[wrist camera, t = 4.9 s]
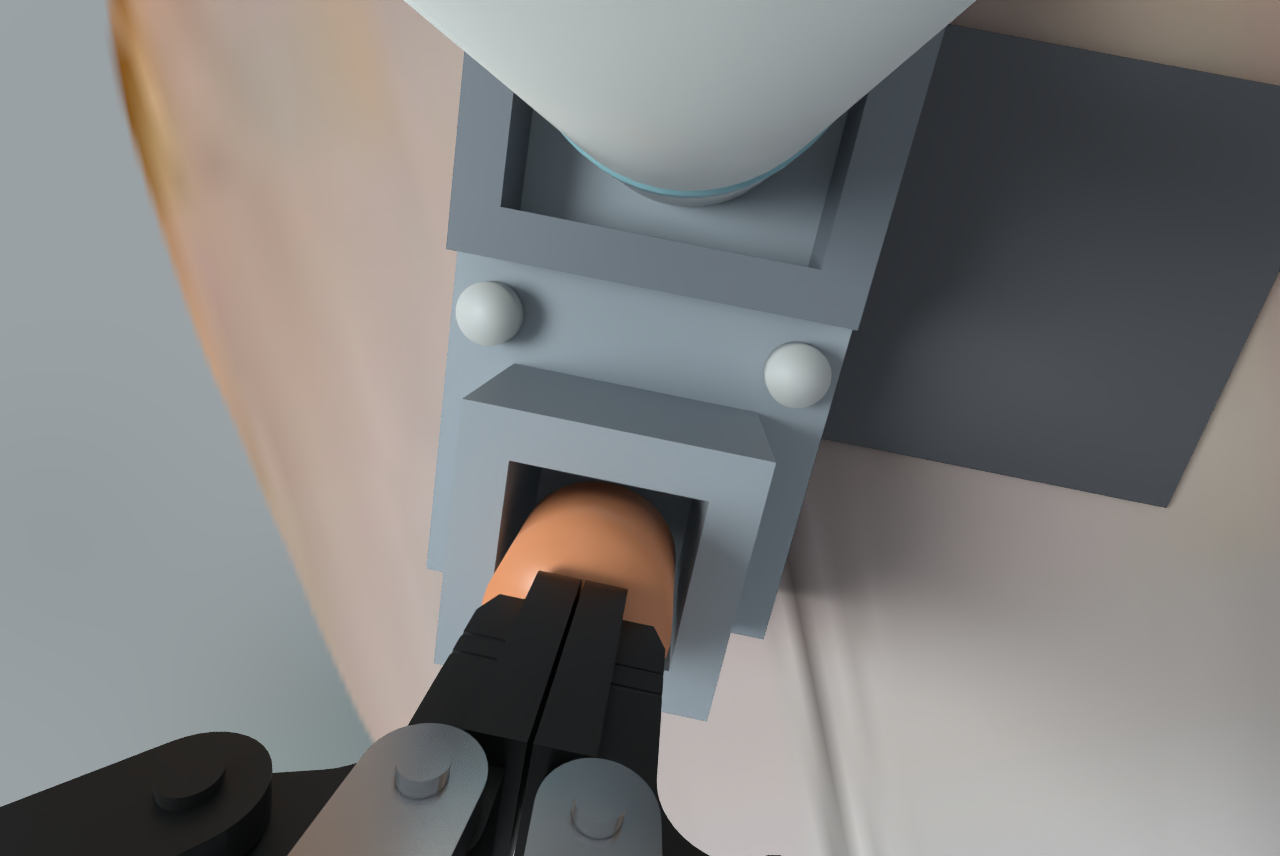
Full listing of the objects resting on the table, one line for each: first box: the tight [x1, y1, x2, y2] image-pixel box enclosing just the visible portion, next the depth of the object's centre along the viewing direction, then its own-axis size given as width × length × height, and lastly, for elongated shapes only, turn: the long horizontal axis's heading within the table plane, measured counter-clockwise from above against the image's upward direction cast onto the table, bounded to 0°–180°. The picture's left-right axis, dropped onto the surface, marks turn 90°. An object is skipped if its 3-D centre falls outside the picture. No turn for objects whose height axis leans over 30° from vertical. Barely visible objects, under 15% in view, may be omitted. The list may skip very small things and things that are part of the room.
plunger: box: [482, 481, 675, 658], centre depth 12 cm, size 3×3×2 cm
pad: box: [821, 24, 1280, 508], centre depth 16 cm, size 10×10×1 cm
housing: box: [427, 27, 946, 721], centre depth 13 cm, size 17×9×6 cm, turn 169°
